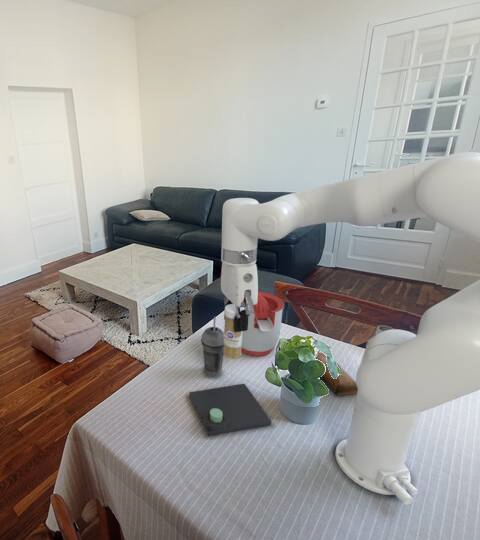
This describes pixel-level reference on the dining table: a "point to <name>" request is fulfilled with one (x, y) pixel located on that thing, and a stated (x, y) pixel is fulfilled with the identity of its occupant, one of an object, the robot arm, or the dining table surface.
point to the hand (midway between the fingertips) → (235, 324)
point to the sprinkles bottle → (232, 334)
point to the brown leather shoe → (338, 380)
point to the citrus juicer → (263, 325)
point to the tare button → (216, 415)
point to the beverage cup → (213, 350)
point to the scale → (229, 409)
